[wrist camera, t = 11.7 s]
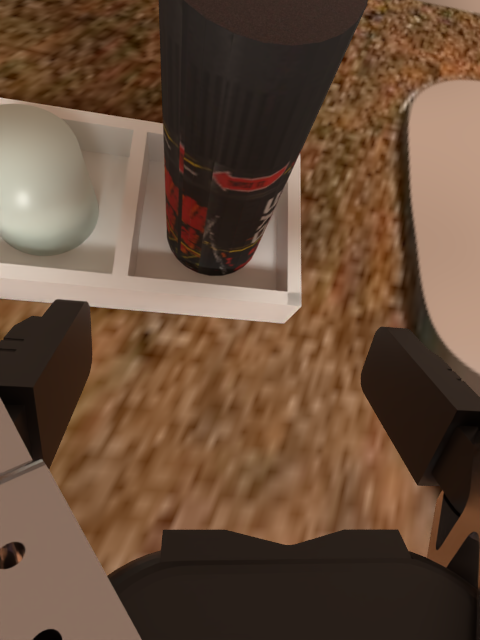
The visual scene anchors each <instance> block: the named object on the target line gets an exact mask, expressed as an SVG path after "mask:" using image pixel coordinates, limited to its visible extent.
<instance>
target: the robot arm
mask: <svg viewBox="0 0 480 640" xmlns="http://www.w3.org/2000/svg"><path fill="white" fill-rule="evenodd" d="M91 363H92V339H91V318H90V306H89V303H88V302H87V301H75V300H63V299H56V300H55V301H54V302H53V303H52V305H51V306H50V307H49V308H48V310H47V311H46V312H45V314H44V315H43V316H42V317H38V316H31V317H29V318H28V319H26V320H24V321H22V322H20V323H18V324H16V325H14V326H13V328H12V329H11V330H10V331H9V332H8V333H7V335H6V336H5V337H4V340H1V341H0V640H480V397H479V396H478V395H477V394H476V393H475V392H474V391H473V390H472V389H471V388H470V387H469V386H468V385H467V384H466V383H465V382H464V381H461V378H460V377H459V376H458V375H457V374H456V373H455V372H454V371H452V369H451V368H450V367H449V366H448V365H447V364H446V363H445V362H444V360H443V359H442V358H441V357H439V356H438V355H436V354H434V353H433V352H431V351H430V350H428V349H427V348H426V347H425V346H424V345H423V343H422V342H421V341H420V340H419V339H418V338H417V337H416V336H415V335H414V334H413V333H412V332H411V331H410V330H408V329H403V328H391V327H380V328H379V329H378V330H377V331H376V333H375V335H374V338H373V341H372V344H371V347H370V349H369V352H368V355H367V358H366V361H365V364H364V366H363V369H362V373H361V387H362V390H363V393H364V394H365V396H366V398H367V400H368V401H369V403H370V405H371V406H372V408H373V410H374V412H375V413H376V415H377V417H378V418H379V420H380V422H381V424H382V425H383V427H384V429H385V430H386V432H387V434H388V436H389V437H390V439H391V441H392V442H393V444H394V446H395V448H396V449H397V451H398V453H399V454H400V456H401V458H402V460H403V461H404V463H405V465H406V466H407V468H408V470H409V472H410V473H411V475H412V477H413V478H414V480H415V482H416V484H417V485H419V486H440V487H441V489H442V492H441V493H440V495H439V497H438V499H437V502H436V507H435V513H434V519H433V525H432V531H431V537H430V543H429V549H428V554H427V558H426V557H423V556H421V555H418V554H415V553H413V552H410V551H408V549H407V547H406V545H405V543H404V541H403V539H402V537H401V535H400V533H399V531H398V530H342V531H338V532H335V533H332V534H328V535H325V536H322V537H318V538H315V539H312V540H308V541H305V542H302V543H298V544H295V545H283V544H279V543H275V542H271V541H267V540H263V539H259V538H255V537H251V536H247V535H244V534H240V533H236V532H232V531H228V530H163V535H162V547H161V551H158V552H154V553H151V554H148V555H145V556H143V557H140V558H138V559H136V560H133V561H131V562H129V563H127V564H126V565H124V566H122V567H120V568H118V569H117V570H115V571H114V572H112V573H111V574H109V575H108V576H107V575H106V573H105V572H104V570H103V568H102V566H101V564H100V562H99V561H98V559H97V557H96V555H95V553H94V551H93V550H92V548H91V546H90V544H89V542H88V540H87V539H86V537H85V535H84V533H83V531H82V529H81V528H80V526H79V524H78V522H77V520H76V518H75V517H74V515H73V513H72V511H71V509H70V507H69V506H68V504H67V502H66V500H65V498H64V497H63V495H62V493H61V491H60V489H59V487H58V486H57V484H56V482H55V480H54V478H53V476H52V475H51V473H50V471H49V468H50V466H51V464H52V461H53V459H54V457H55V454H56V452H57V449H58V447H59V445H60V442H61V440H62V438H63V435H64V433H65V431H66V428H67V426H68V423H69V421H70V419H71V416H72V414H73V412H74V409H75V407H76V405H77V402H78V400H79V398H80V395H81V393H82V390H83V388H84V386H85V383H86V381H87V379H88V376H89V373H90V369H91Z"/></svg>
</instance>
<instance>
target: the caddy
mask: <svg viewBox="0 0 480 640" xmlns="http://www.w3.org/2000/svg"><path fill="white" fill-rule="evenodd" d="M0 298H1V299H12V300H24V301H35V302H46V303H53V302H54V301H55V300H56V299H63V300H75V301H87V302H88V303H89V306H92V307H103V308H115V309H126V310H138V311H149V312H160V313H172V314H183V315H195V316H206V317H217V318H229V319H240V320H252V321H263V322H274V323H285V322H286V321H287V320H288V319H289V318H290V317H291V316H292V315H293V314H294V313H295V312H296V311H297V310H298V309H299V308H300V307H301V193H300V154H299V156H298V158H297V161H296V163H295V165H294V167H293V169H292V172H291V174H290V176H289V178H288V181H287V183H286V185H285V187H284V189H283V192H282V194H281V196H280V198H279V200H278V203H277V205H276V207H275V209H274V212H273V214H272V216H271V218H270V220H269V223H268V225H267V227H266V229H265V231H264V234H263V236H262V238H261V240H260V243H259V245H258V247H257V249H256V251H255V253H254V255H253V257H252V259H251V260H250V261H249V262H248V263H247V264H246V265H245V266H244V267H243V268H241V269H239V270H238V271H236V272H234V273H231V274H227V275H223V276H208V275H204V274H200V273H197V272H195V271H193V270H191V269H189V268H187V267H186V266H184V265H183V264H182V263H181V262H180V261H179V260H178V259H177V258H176V257H175V255H174V254H173V252H172V251H171V249H170V246H169V243H168V240H167V227H166V198H165V168H164V139H163V124H162V123H156V122H150V121H144V120H137V119H131V118H125V117H119V116H112V115H106V114H100V113H94V112H87V111H81V110H75V109H69V108H62V107H56V106H50V105H44V104H37V103H31V102H25V101H18V100H12V99H6V98H0Z"/></svg>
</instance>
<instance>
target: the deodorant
mask: <svg viewBox="0 0 480 640" xmlns="http://www.w3.org/2000/svg"><path fill="white" fill-rule="evenodd" d="M367 1H368V0H159V22H160V51H161V80H162V110H163V139H164V168H165V198H166V227H167V240H168V243H169V246H170V249H171V251H172V252H173V254H174V255H175V257H176V258H177V259H178V260H179V261H180V262H181V263H182V264H183V265H184V266H186V267H187V268H189V269H191V270H193V271H195V272H197V273H200V274H204V275H208V276H223V275H227V274H231V273H234V272H236V271H238V270H239V269H241V268H243V267H244V266H245V265H246V264H247V263H248V262H249V261H250V260H251V259H252V257H253V255H254V253H255V251H256V249H257V247H258V245H259V243H260V240H261V238H262V236H263V234H264V231H265V229H266V227H267V225H268V223H269V220H270V218H271V216H272V214H273V212H274V209H275V207H276V205H277V203H278V200H279V198H280V196H281V194H282V192H283V189H284V187H285V185H286V183H287V181H288V178H289V176H290V174H291V172H292V169H293V167H294V165H295V163H296V161H297V158H298V156H299V154H300V152H301V150H302V147H303V145H304V143H305V141H306V139H307V136H308V134H309V132H310V130H311V127H312V125H313V123H314V121H315V119H316V116H317V114H318V112H319V110H320V108H321V105H322V103H323V101H324V99H325V96H326V94H327V92H328V90H329V88H330V85H331V83H332V81H333V79H334V77H335V74H336V72H337V70H338V68H339V65H340V63H341V61H342V59H343V57H344V54H345V52H346V50H347V48H348V46H349V43H350V41H351V39H352V37H353V35H354V32H355V30H356V28H357V26H358V23H359V21H360V19H361V17H362V15H363V12H364V10H365V8H366V6H367Z"/></svg>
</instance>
